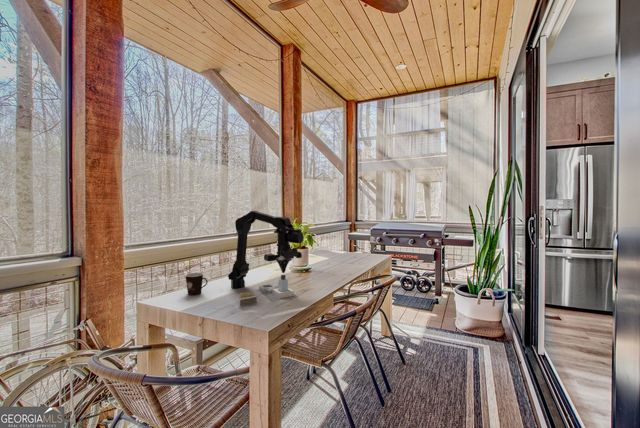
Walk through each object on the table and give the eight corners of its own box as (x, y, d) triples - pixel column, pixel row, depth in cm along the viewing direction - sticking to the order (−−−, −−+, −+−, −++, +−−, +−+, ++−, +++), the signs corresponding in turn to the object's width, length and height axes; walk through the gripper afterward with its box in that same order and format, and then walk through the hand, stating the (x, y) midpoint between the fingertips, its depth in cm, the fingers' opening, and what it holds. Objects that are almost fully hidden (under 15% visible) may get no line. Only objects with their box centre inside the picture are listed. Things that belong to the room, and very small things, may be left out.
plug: (281, 296, 152) (281, 276, 151) (278, 294, 155) (278, 274, 154) (287, 295, 154) (287, 275, 153) (284, 293, 156) (284, 274, 156)
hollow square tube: (263, 293, 156) (263, 288, 156) (259, 290, 161) (259, 285, 161) (274, 291, 159) (274, 286, 159) (269, 288, 165) (269, 284, 165)
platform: (224, 306, 141) (224, 292, 141) (260, 299, 151) (260, 286, 151) (232, 314, 131) (232, 299, 131) (271, 306, 142) (270, 292, 141)
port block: (279, 298, 148) (279, 293, 148) (272, 293, 155) (272, 288, 155) (294, 295, 153) (294, 290, 153) (286, 291, 160) (286, 286, 159)
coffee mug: (182, 293, 159) (182, 274, 159) (198, 290, 165) (198, 272, 165) (192, 298, 151) (192, 278, 151) (209, 294, 157) (208, 275, 157)
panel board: (272, 304, 144) (272, 301, 144) (255, 292, 162) (255, 289, 162) (298, 298, 151) (298, 296, 151) (279, 288, 170) (279, 285, 170)
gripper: (272, 245, 141) (272, 278, 142) (307, 242, 151) (307, 273, 152) (263, 242, 150) (263, 274, 151) (296, 240, 160) (296, 269, 161)
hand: (283, 272), depth 153 cm, fingers closed
